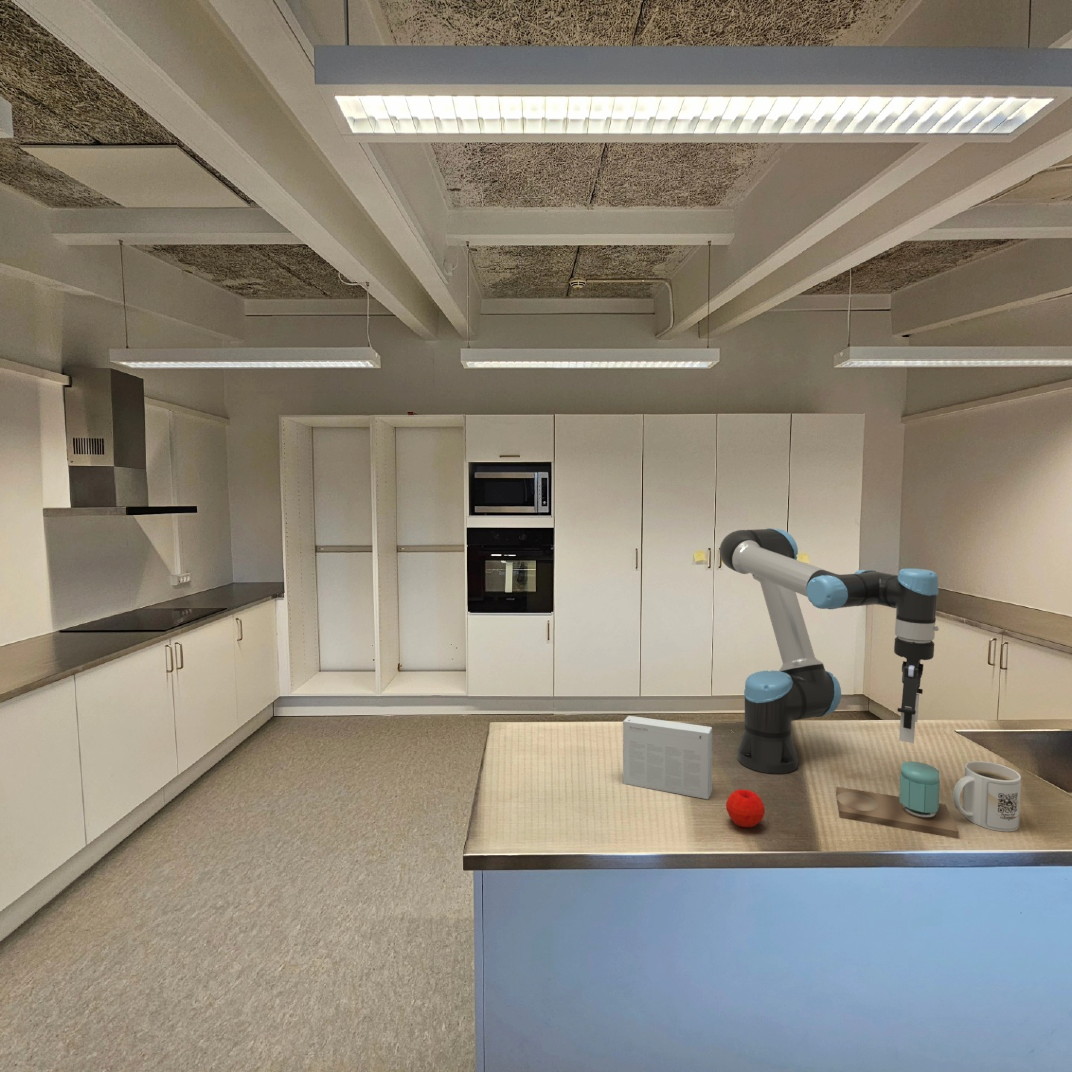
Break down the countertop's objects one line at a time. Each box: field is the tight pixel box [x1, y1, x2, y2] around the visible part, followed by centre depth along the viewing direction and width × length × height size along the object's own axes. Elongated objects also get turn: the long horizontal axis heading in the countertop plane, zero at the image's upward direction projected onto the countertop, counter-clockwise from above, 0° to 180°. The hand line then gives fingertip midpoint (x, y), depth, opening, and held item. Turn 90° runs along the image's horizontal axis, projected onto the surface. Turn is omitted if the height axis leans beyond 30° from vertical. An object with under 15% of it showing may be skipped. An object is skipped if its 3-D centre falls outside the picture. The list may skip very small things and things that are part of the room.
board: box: [835, 786, 959, 839], centre depth 135 cm, size 22×12×2 cm, turn 67°
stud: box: [903, 805, 936, 819], centre depth 133 cm, size 6×6×8 cm
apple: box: [725, 789, 766, 828], centre depth 131 cm, size 8×8×7 cm
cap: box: [899, 761, 941, 813], centre depth 133 cm, size 7×7×8 cm
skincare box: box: [622, 715, 713, 800], centre depth 149 cm, size 21×5×16 cm, turn 65°
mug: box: [952, 760, 1022, 833], centre depth 132 cm, size 10×12×11 cm
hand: (908, 730), depth 137 cm, fingers open, 13 cm apart
